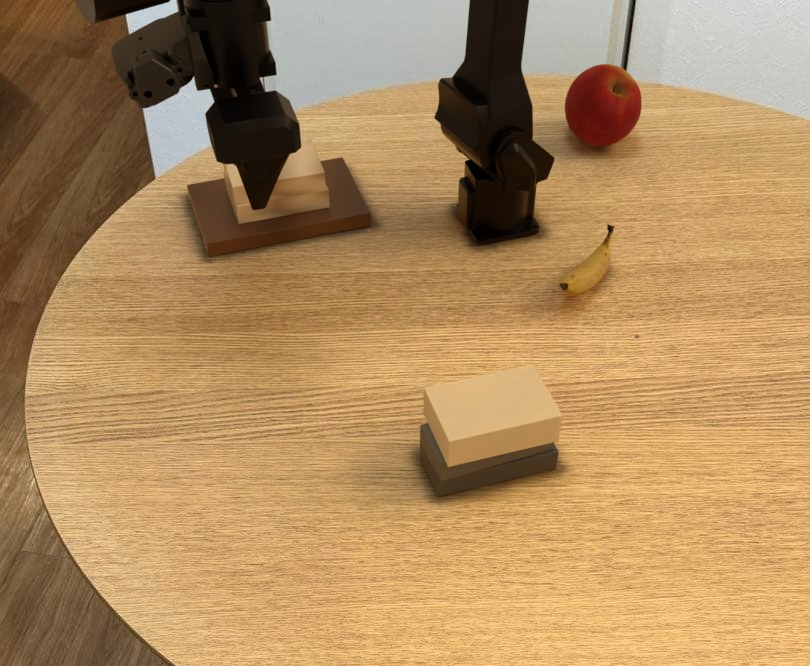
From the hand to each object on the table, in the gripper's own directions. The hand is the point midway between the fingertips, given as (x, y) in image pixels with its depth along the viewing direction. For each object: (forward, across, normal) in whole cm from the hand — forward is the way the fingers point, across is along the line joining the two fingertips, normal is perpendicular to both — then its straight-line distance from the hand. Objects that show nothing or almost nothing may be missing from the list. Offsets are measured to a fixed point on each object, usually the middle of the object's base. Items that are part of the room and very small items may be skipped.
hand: (247, 176), depth 94 cm
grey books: (+14, +24, +13) cm, 30 cm away
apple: (+14, -17, +39) cm, 45 cm away
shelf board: (+14, -14, +4) cm, 20 cm away
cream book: (+10, +24, +13) cm, 29 cm away
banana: (+14, +5, +29) cm, 33 cm away
